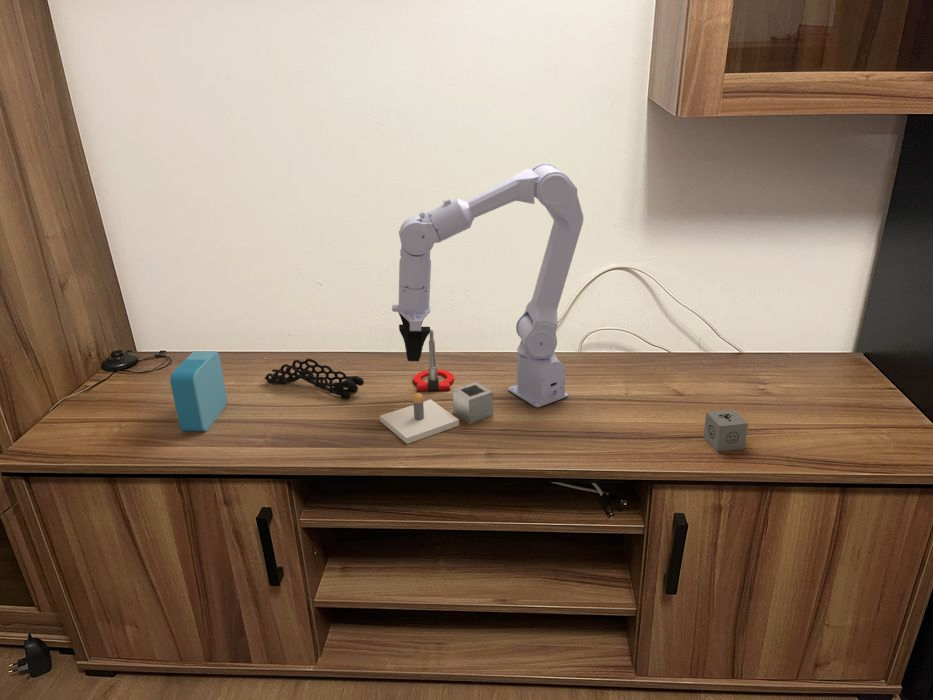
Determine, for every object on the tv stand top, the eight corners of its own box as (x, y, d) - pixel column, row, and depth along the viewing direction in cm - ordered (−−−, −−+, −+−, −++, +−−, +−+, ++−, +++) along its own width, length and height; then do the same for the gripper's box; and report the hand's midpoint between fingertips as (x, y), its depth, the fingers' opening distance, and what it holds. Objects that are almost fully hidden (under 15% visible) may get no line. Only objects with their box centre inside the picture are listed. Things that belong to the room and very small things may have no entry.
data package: (206, 403, 143) (195, 348, 138) (228, 403, 142) (218, 348, 137) (180, 434, 132) (168, 375, 127) (204, 434, 131) (193, 375, 126)
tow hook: (414, 375, 153) (412, 393, 145) (411, 317, 149) (409, 332, 140) (453, 373, 153) (454, 391, 145) (452, 316, 149) (452, 331, 140)
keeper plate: (459, 425, 132) (458, 395, 130) (406, 444, 126) (404, 413, 124) (430, 404, 140) (429, 376, 137) (380, 421, 134) (378, 391, 132)
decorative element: (262, 387, 149) (258, 361, 147) (276, 377, 153) (273, 352, 151) (357, 404, 141) (355, 377, 139) (370, 392, 146) (367, 366, 143)
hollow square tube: (493, 415, 135) (492, 391, 133) (469, 424, 132) (468, 400, 130) (476, 404, 139) (476, 381, 137) (453, 412, 136) (452, 389, 134)
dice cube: (730, 434, 127) (733, 409, 125) (744, 448, 122) (748, 423, 120) (703, 437, 126) (706, 412, 124) (716, 452, 122) (720, 426, 120)
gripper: (391, 271, 138) (390, 337, 143) (393, 297, 124) (392, 368, 130) (428, 272, 138) (426, 337, 144) (434, 297, 125) (431, 368, 131)
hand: (412, 352), depth 137 cm, fingers open, 7 cm apart
